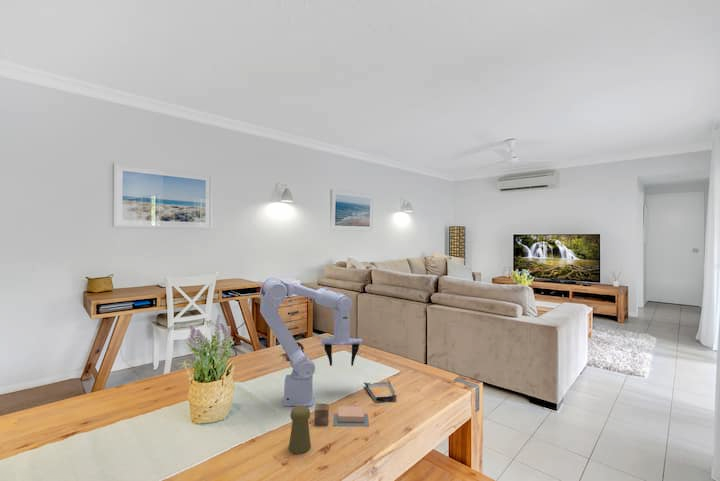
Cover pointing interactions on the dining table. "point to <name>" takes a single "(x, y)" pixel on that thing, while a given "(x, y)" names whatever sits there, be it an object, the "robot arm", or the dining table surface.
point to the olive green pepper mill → (300, 430)
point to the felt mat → (337, 423)
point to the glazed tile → (351, 414)
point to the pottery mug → (299, 346)
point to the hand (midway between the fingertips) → (341, 364)
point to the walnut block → (321, 414)
